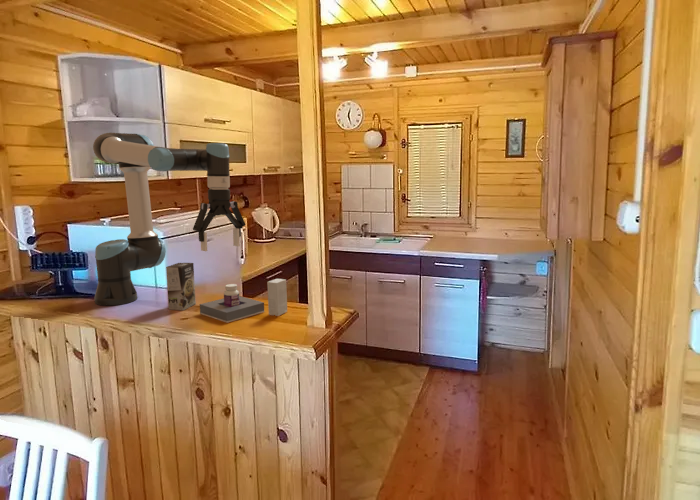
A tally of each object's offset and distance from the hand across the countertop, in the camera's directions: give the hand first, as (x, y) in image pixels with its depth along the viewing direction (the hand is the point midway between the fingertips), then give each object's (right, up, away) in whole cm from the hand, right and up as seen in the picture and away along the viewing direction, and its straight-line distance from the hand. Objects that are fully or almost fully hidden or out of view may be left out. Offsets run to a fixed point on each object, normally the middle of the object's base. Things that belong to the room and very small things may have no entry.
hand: (220, 248), depth 175 cm
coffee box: (-17, -22, +9) cm, 29 cm away
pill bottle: (+4, -23, 0) cm, 23 cm away
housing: (+4, -23, 0) cm, 23 cm away
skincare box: (+20, -23, 0) cm, 31 cm away
